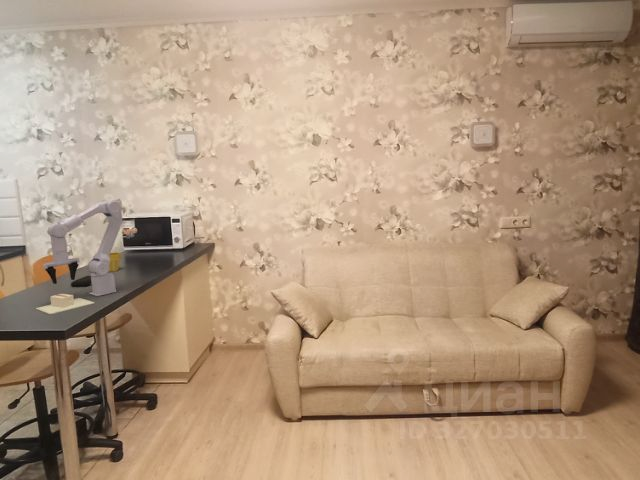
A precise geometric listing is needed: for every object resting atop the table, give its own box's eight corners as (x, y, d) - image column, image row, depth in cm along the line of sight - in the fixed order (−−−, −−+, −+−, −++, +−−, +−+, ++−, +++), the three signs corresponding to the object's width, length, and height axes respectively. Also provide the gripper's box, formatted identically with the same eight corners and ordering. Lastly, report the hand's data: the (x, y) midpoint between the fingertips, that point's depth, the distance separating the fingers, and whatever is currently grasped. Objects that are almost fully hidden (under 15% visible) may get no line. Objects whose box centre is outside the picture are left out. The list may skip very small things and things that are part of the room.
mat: (79, 298, 210) (79, 297, 210) (94, 303, 201) (94, 302, 201) (36, 309, 196) (35, 308, 196) (50, 314, 187) (50, 313, 187)
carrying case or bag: (85, 280, 246) (67, 287, 232) (84, 274, 246) (66, 282, 232) (104, 280, 245) (87, 287, 231) (103, 274, 245) (86, 281, 230)
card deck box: (74, 304, 200) (73, 295, 199) (63, 307, 195) (62, 298, 194) (62, 302, 203) (61, 293, 202) (51, 305, 199) (50, 296, 198)
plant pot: (125, 268, 272) (123, 251, 271) (116, 272, 262) (114, 255, 260) (108, 268, 273) (107, 252, 272) (98, 272, 263) (97, 255, 261)
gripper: (72, 247, 210) (76, 276, 213) (38, 253, 199) (42, 284, 201) (80, 248, 206) (83, 278, 208) (45, 254, 195) (49, 286, 197)
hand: (64, 281), depth 205 cm, fingers open, 7 cm apart
